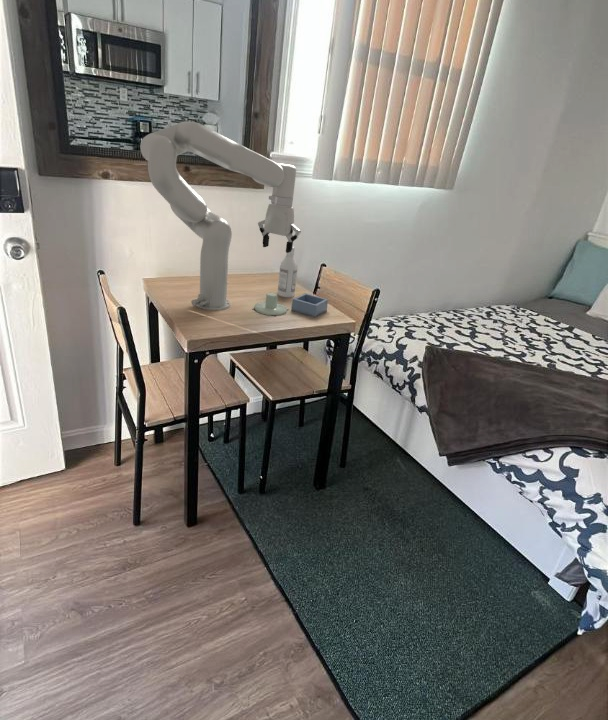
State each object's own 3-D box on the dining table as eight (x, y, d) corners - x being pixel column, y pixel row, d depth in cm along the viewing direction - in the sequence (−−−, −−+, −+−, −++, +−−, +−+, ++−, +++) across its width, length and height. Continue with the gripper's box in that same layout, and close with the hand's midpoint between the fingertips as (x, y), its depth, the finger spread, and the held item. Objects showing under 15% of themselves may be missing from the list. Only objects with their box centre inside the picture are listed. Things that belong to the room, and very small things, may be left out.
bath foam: (292, 293, 189) (297, 245, 180) (296, 298, 183) (301, 249, 175) (275, 292, 187) (280, 244, 178) (279, 298, 181) (284, 248, 173)
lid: (276, 318, 160) (277, 302, 157) (248, 309, 164) (249, 294, 162) (292, 309, 169) (294, 294, 167) (265, 301, 174) (266, 287, 171)
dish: (314, 318, 165) (316, 305, 163) (291, 311, 169) (292, 298, 167) (326, 311, 173) (328, 299, 171) (303, 305, 177) (305, 293, 175)
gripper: (255, 197, 161) (251, 245, 168) (299, 206, 155) (293, 255, 162) (266, 197, 167) (261, 243, 174) (308, 205, 161) (301, 253, 169)
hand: (276, 249), depth 168 cm, fingers open, 9 cm apart
